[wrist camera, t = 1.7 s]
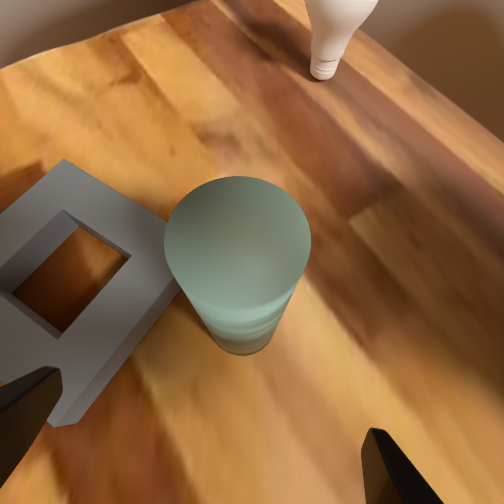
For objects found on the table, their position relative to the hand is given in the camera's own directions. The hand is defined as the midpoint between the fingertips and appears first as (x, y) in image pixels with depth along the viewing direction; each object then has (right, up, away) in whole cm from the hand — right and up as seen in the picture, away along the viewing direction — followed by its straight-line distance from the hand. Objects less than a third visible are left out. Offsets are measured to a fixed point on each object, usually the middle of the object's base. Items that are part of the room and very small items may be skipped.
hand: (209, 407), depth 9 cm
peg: (+1, 0, +13) cm, 13 cm away
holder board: (-11, +2, +13) cm, 18 cm away
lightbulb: (+8, +22, +23) cm, 33 cm away
